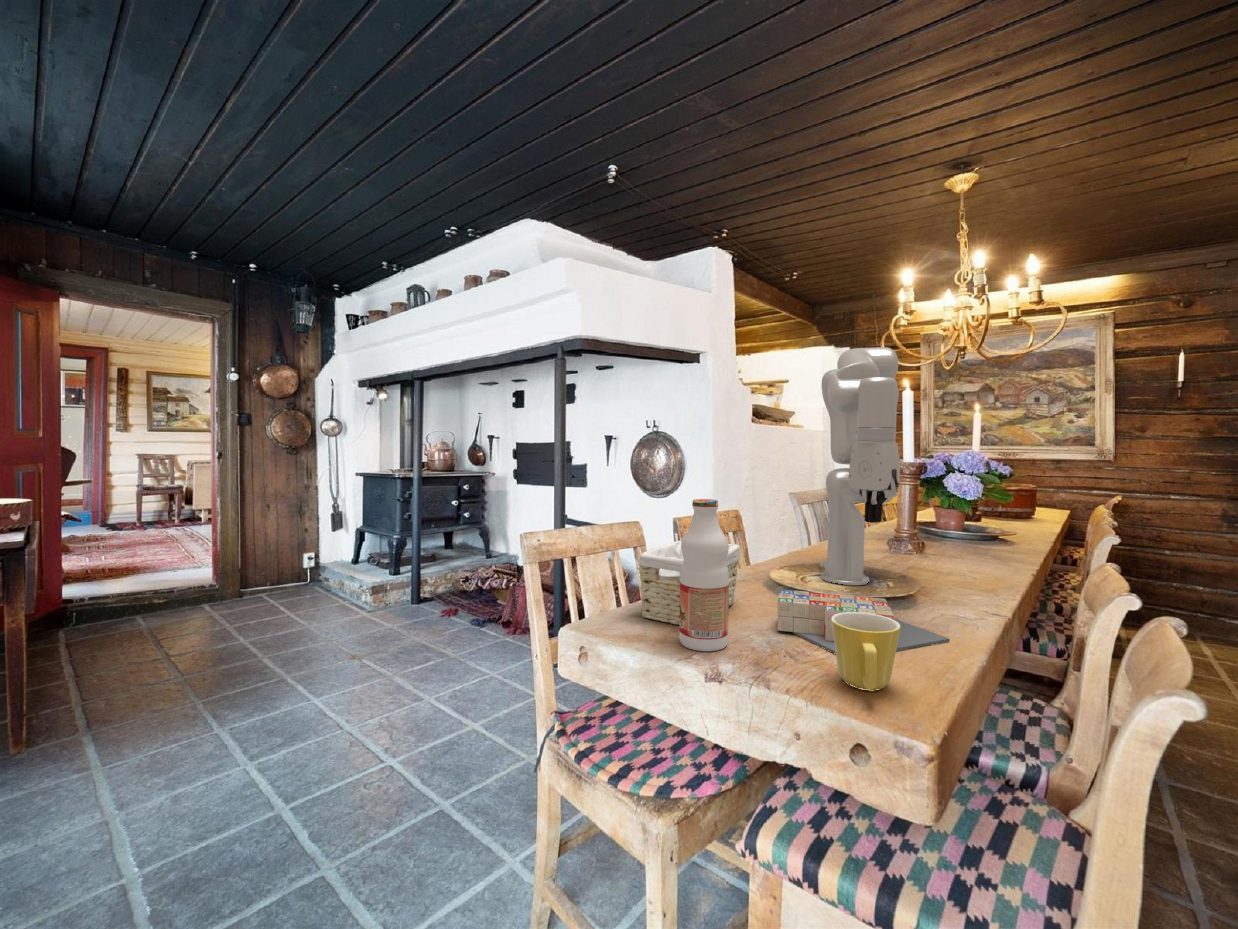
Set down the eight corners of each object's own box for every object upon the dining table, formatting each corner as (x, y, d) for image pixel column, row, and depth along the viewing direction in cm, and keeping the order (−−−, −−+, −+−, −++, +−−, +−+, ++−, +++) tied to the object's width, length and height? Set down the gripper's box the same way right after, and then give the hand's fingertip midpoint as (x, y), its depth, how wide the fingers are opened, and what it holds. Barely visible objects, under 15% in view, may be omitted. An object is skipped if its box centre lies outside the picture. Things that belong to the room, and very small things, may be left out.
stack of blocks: (778, 616, 123) (776, 635, 111) (779, 588, 122) (776, 604, 111) (885, 627, 116) (894, 648, 104) (886, 598, 116) (895, 616, 104)
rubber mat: (792, 633, 114) (792, 630, 114) (887, 618, 124) (887, 615, 124) (846, 660, 100) (847, 657, 100) (949, 641, 110) (949, 638, 110)
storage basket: (680, 594, 143) (681, 537, 142) (742, 604, 134) (743, 543, 134) (634, 620, 122) (635, 553, 122) (703, 633, 114) (704, 562, 113)
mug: (834, 666, 98) (836, 607, 97) (899, 679, 93) (901, 617, 92) (821, 698, 86) (822, 631, 85) (895, 714, 81) (897, 643, 80)
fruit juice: (708, 656, 101) (710, 504, 100) (669, 642, 108) (670, 499, 107) (737, 643, 108) (740, 500, 107) (699, 631, 115) (700, 496, 113)
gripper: (836, 435, 123) (834, 517, 125) (891, 437, 110) (887, 529, 111) (862, 435, 126) (860, 515, 128) (919, 437, 112) (915, 526, 114)
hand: (873, 521), depth 119 cm, fingers closed
